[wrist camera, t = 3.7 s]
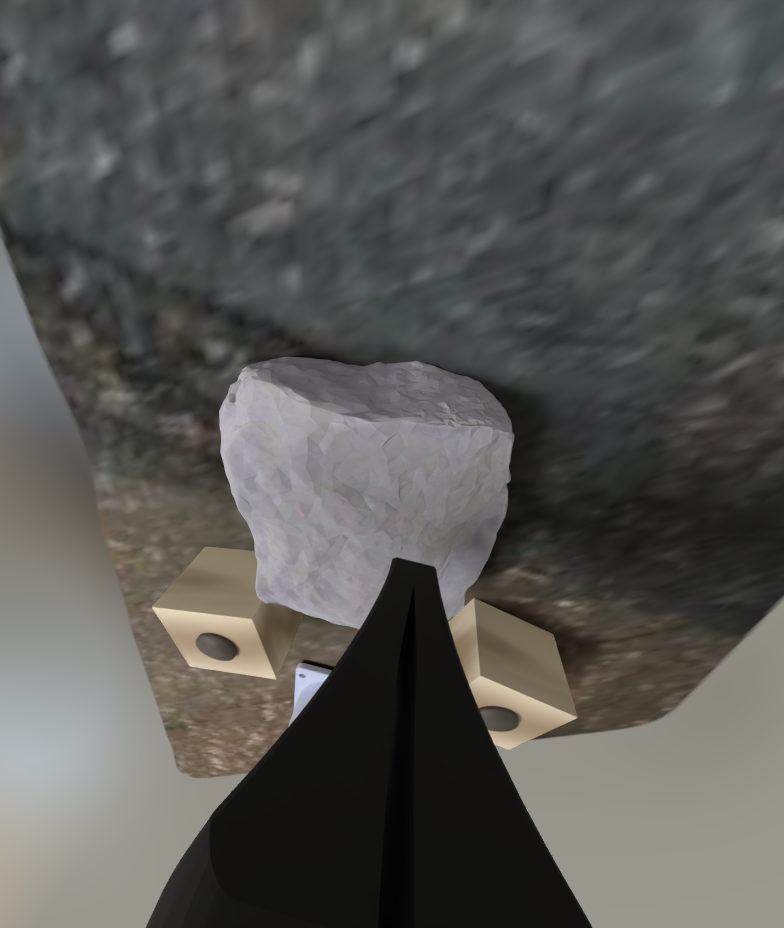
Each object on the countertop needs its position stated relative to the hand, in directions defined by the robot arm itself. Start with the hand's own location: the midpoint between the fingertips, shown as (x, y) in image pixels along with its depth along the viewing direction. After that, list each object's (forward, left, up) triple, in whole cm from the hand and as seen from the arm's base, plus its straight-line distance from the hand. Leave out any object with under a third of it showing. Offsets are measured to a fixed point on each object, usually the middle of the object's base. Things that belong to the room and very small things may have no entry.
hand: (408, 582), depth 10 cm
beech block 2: (-9, -6, -5) cm, 11 cm away
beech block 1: (-9, +8, -5) cm, 13 cm away
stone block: (0, +2, -5) cm, 5 cm away
